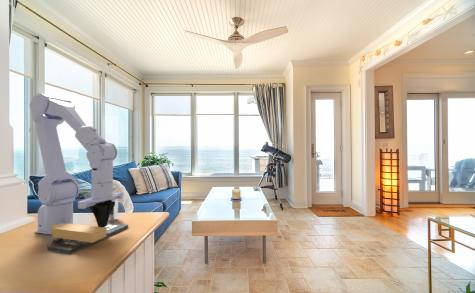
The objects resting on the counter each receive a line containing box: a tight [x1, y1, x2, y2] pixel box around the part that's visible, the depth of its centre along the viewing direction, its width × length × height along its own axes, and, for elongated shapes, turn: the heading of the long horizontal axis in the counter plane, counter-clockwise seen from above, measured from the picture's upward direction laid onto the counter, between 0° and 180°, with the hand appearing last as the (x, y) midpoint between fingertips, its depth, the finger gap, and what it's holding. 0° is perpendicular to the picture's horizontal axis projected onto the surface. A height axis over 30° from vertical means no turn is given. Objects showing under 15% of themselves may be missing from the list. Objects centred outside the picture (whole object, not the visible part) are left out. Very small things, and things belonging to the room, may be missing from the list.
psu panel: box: [46, 222, 129, 255], centre depth 70 cm, size 8×20×1 cm, turn 164°
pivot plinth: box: [52, 236, 64, 244], centre depth 67 cm, size 2×2×2 cm
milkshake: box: [108, 199, 120, 222], centre depth 87 cm, size 5×5×10 cm
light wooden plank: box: [50, 223, 106, 244], centre depth 65 cm, size 16×4×2 cm, turn 74°
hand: (102, 226), depth 72 cm, fingers closed
